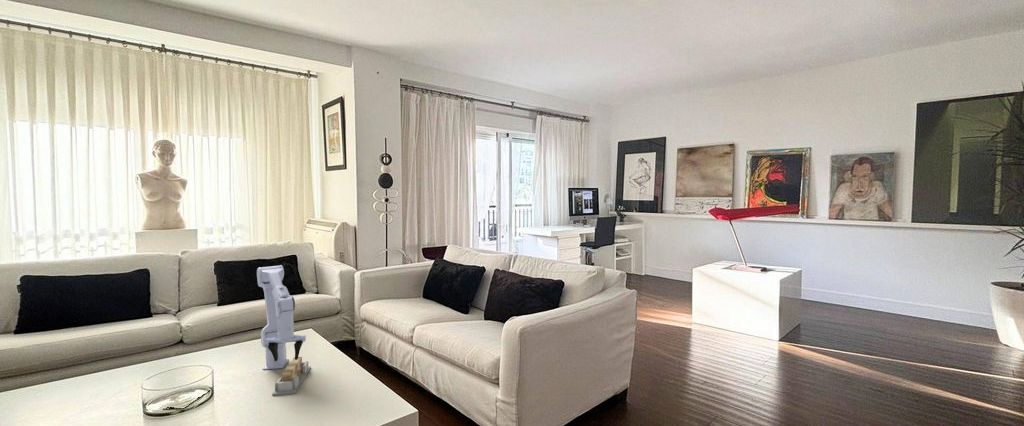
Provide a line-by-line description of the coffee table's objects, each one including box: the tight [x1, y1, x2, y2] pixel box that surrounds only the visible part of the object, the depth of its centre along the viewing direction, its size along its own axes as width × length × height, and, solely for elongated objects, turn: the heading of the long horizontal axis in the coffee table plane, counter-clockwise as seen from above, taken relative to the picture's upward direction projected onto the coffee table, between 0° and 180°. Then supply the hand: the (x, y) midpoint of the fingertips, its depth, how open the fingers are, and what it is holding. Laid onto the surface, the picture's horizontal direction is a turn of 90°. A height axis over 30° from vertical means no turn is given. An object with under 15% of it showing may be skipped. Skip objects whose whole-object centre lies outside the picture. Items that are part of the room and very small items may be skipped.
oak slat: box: [281, 356, 303, 382], centre depth 174 cm, size 16×3×6 cm, turn 12°
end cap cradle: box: [271, 361, 312, 397], centre depth 174 cm, size 24×8×4 cm, turn 12°
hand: (286, 359), depth 174 cm, fingers open, 7 cm apart
